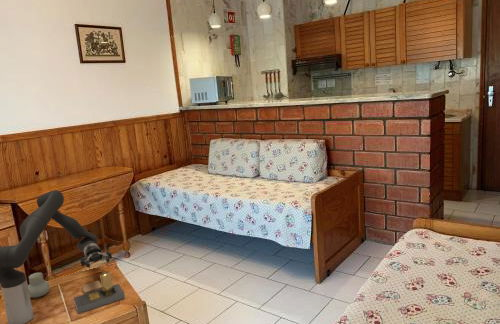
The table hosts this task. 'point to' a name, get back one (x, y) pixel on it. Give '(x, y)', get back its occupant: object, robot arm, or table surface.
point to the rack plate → (97, 299)
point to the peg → (106, 283)
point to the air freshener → (37, 285)
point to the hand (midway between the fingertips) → (98, 263)
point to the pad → (91, 287)
